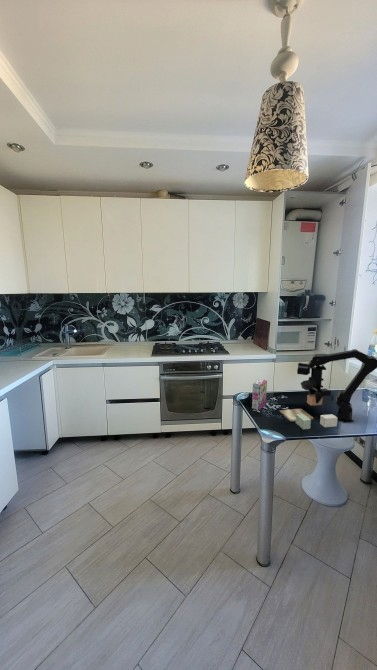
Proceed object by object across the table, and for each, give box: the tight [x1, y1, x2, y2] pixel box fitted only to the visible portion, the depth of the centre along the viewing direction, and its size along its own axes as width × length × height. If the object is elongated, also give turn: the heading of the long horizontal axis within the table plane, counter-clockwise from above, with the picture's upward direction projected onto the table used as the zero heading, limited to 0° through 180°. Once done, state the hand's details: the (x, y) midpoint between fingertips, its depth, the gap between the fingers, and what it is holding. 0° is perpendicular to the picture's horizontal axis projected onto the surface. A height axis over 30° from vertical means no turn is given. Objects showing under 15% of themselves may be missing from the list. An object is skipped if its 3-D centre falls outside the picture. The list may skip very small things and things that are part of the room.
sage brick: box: [295, 414, 312, 430], centre depth 138 cm, size 7×4×5 cm, turn 9°
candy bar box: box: [251, 379, 268, 411], centre depth 161 cm, size 11×5×16 cm, turn 141°
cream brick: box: [319, 413, 338, 428], centre depth 139 cm, size 7×4×5 cm, turn 99°
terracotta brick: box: [306, 394, 324, 406], centre depth 151 cm, size 7×4×5 cm, turn 99°
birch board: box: [279, 408, 314, 422], centre depth 150 cm, size 14×12×1 cm
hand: (314, 401), depth 151 cm, fingers closed on terracotta brick, 4 cm apart
